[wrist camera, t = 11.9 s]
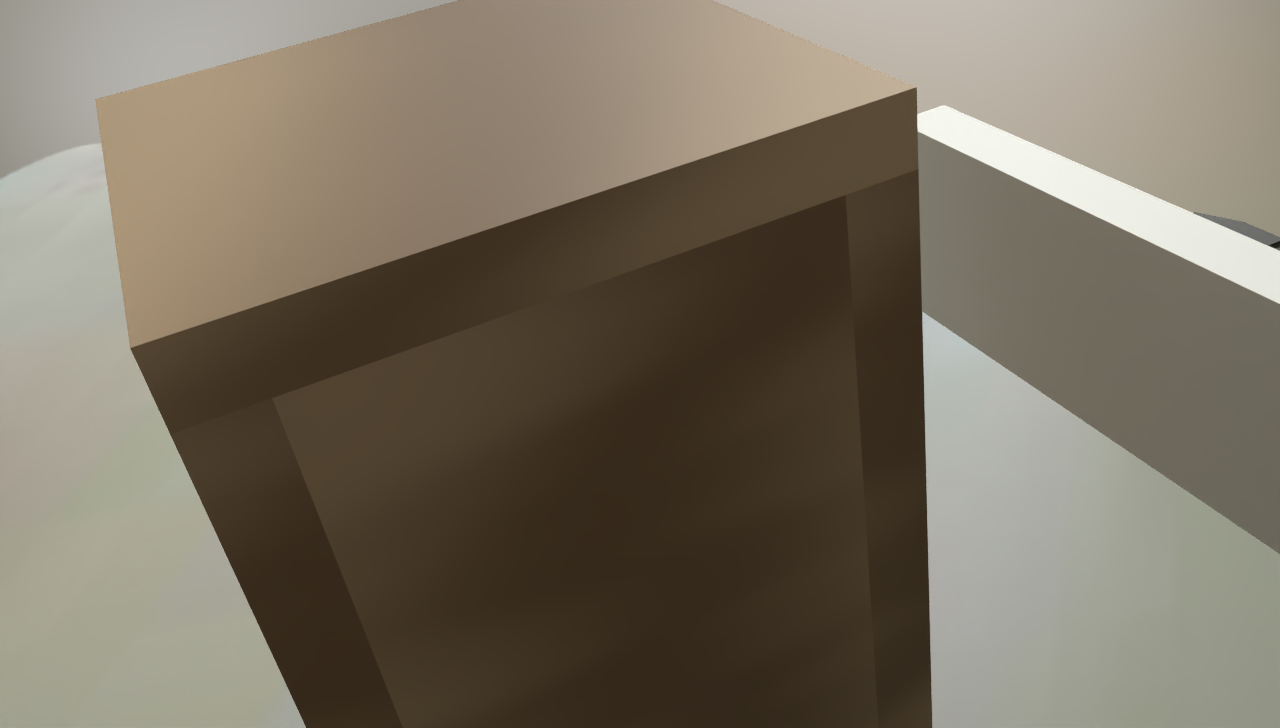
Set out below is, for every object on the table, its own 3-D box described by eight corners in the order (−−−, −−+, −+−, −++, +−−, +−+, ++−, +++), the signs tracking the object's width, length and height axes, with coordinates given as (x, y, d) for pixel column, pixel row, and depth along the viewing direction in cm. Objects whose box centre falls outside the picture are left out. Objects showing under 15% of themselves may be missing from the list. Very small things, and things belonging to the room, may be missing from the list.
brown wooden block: (542, 1238, 13) (131, 349, 6) (419, 862, 17) (95, 99, 11) (939, 1004, 14) (917, 87, 8) (735, 710, 18) (614, -43, 12)
